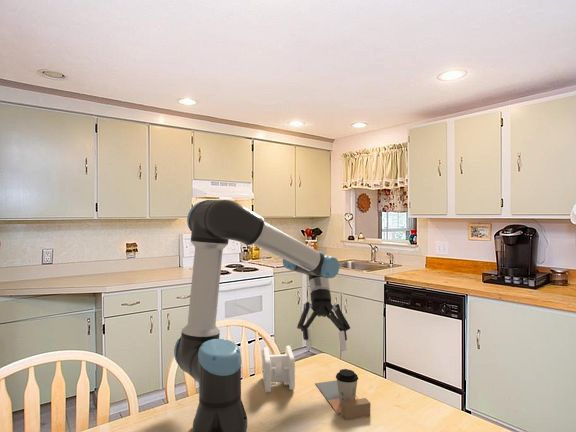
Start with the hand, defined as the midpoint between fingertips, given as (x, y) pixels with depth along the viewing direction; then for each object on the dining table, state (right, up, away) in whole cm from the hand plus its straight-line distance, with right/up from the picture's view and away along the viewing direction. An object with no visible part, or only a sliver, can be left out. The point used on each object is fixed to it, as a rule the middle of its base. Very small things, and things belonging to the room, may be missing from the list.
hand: (326, 350), depth 130 cm
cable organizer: (-17, -13, +1) cm, 21 cm away
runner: (+4, -13, -8) cm, 16 cm away
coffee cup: (+5, -13, -12) cm, 18 cm away
